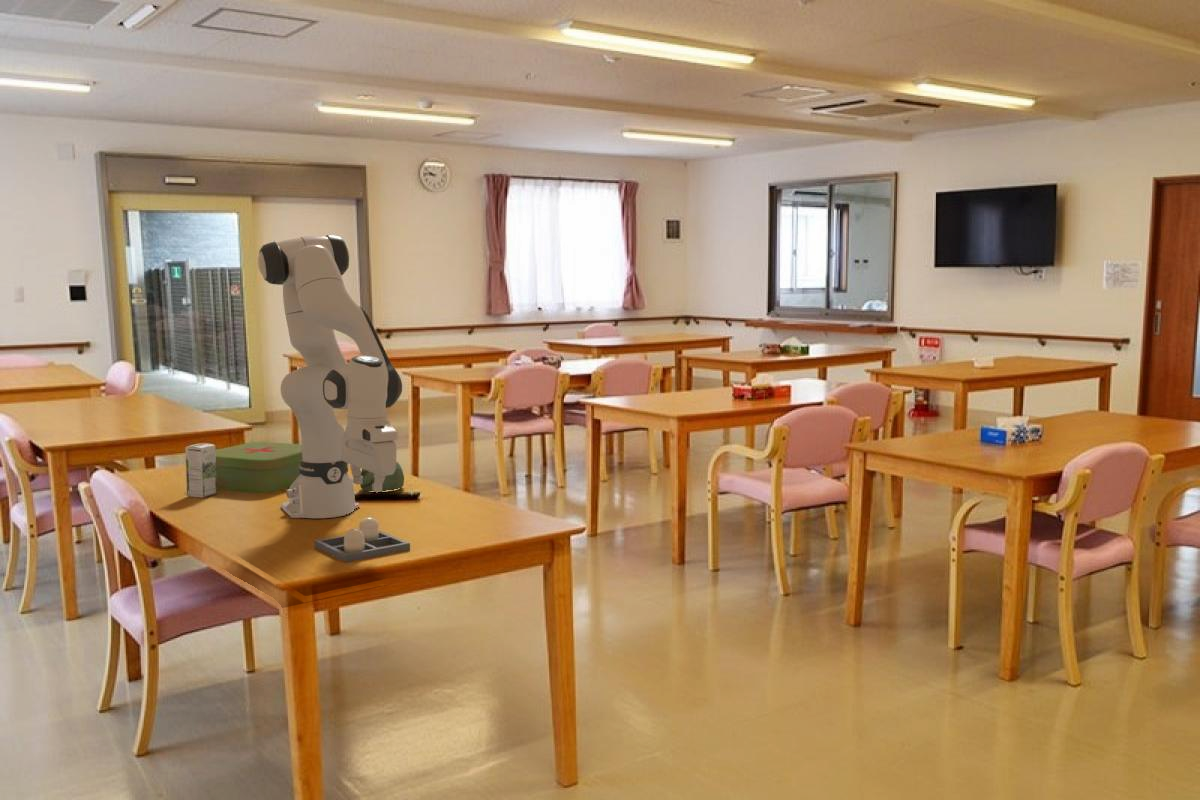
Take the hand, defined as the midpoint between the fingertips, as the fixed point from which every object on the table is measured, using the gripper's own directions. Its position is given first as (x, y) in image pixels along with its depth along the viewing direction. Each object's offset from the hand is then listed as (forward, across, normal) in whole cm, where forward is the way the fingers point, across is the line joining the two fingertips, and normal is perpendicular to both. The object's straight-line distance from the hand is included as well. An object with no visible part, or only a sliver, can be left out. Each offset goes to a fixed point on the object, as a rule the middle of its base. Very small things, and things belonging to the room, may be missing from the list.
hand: (367, 487), depth 230 cm
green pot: (+15, -51, +32) cm, 62 cm away
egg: (+13, +1, 0) cm, 13 cm away
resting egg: (+13, +8, -7) cm, 17 cm away
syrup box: (+17, -78, -11) cm, 81 cm away
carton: (+14, +5, -4) cm, 15 cm away
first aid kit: (+17, -85, +9) cm, 87 cm away
